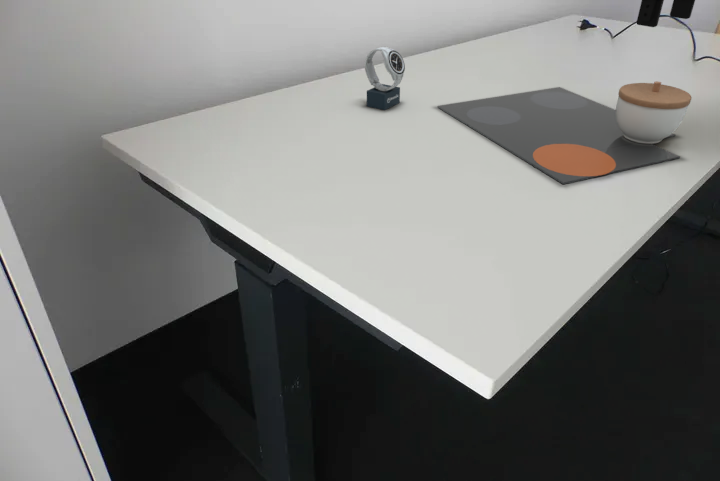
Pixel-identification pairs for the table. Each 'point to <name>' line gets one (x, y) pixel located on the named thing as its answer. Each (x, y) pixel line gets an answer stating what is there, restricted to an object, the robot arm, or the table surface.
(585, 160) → the front ring
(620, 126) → the trinket box
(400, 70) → the watch
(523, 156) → the hob
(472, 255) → the table surface
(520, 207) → the table surface
